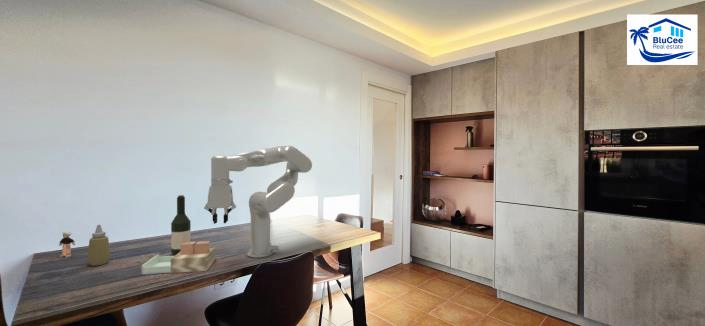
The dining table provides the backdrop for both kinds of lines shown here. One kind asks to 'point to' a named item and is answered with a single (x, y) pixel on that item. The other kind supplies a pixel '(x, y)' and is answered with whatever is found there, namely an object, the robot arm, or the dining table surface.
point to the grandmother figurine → (66, 244)
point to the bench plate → (192, 262)
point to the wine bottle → (180, 227)
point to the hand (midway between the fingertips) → (220, 222)
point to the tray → (157, 265)
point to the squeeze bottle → (98, 248)
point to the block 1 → (188, 248)
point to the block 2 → (202, 247)
